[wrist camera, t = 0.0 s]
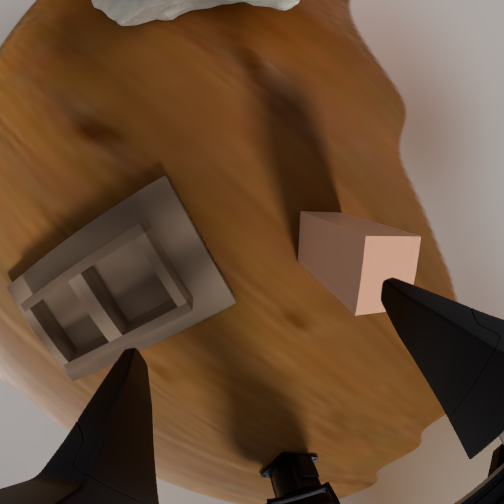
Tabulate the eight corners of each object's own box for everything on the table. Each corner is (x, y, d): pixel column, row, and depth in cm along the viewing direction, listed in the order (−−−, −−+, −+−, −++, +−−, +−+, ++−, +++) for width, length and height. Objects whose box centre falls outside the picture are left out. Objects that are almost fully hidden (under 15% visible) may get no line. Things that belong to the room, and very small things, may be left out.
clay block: (338, 260, 26) (408, 308, 16) (297, 261, 26) (355, 315, 15) (341, 212, 25) (420, 236, 15) (300, 211, 25) (365, 235, 14)
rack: (235, 297, 26) (240, 316, 22) (76, 375, 25) (65, 395, 22) (167, 175, 22) (160, 174, 19) (12, 283, 22) (-7, 296, 18)
